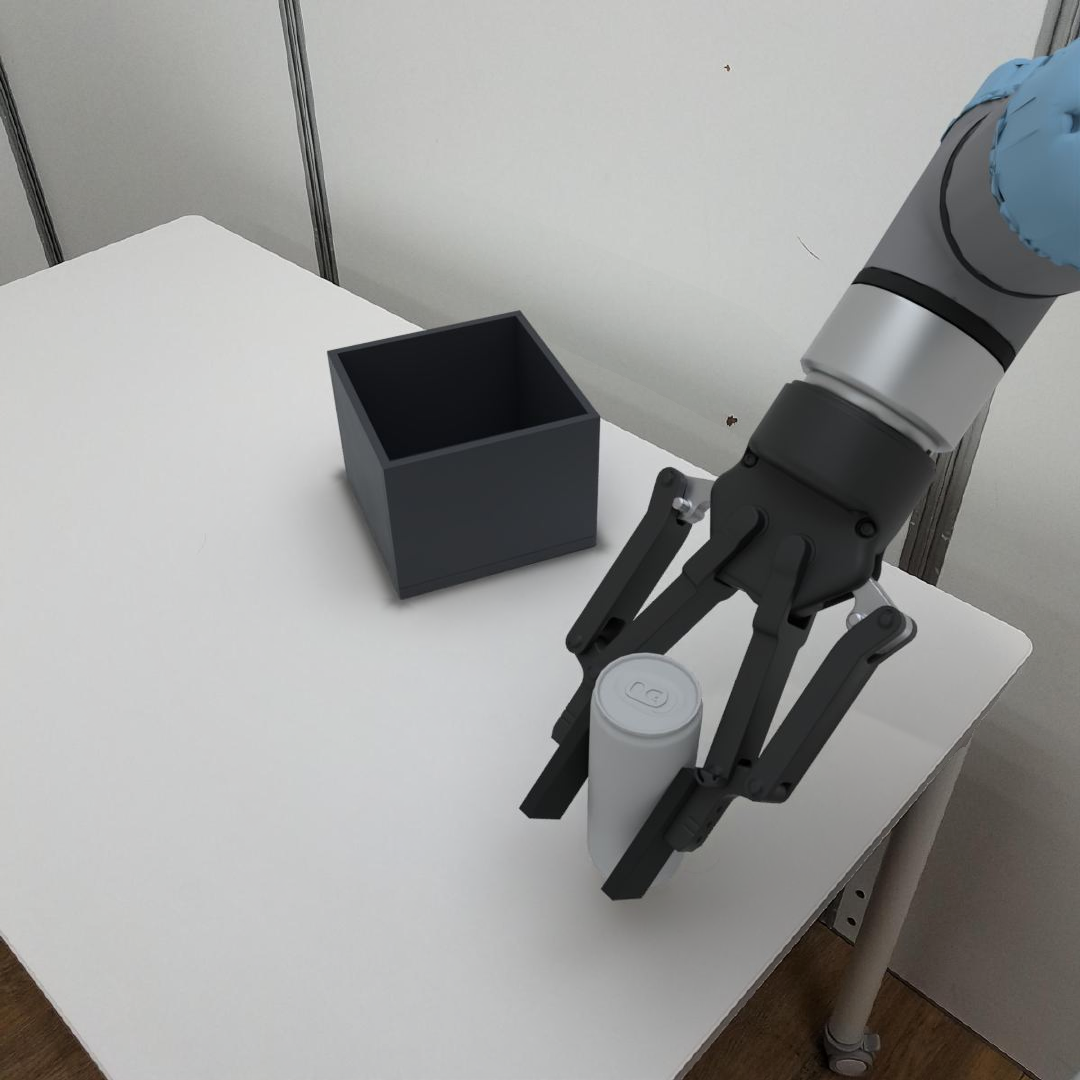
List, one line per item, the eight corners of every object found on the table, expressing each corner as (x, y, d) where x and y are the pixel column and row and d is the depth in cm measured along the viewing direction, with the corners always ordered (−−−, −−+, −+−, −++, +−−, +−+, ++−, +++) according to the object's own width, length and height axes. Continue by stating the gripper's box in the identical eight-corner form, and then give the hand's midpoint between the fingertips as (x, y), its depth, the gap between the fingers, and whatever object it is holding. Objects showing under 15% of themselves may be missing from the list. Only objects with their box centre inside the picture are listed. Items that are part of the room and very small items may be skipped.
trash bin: (596, 545, 78) (600, 416, 70) (400, 600, 74) (383, 469, 66) (523, 433, 88) (520, 309, 80) (346, 476, 84) (326, 350, 76)
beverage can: (655, 913, 53) (673, 754, 45) (567, 866, 55) (570, 705, 47) (699, 838, 56) (724, 677, 48) (615, 796, 58) (625, 635, 50)
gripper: (1073, 539, 46) (760, 986, 49) (744, 364, 56) (502, 741, 59) (1040, 492, 40) (686, 1005, 43) (678, 305, 50) (412, 729, 53)
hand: (579, 851), depth 51 cm, fingers closed on beverage can, 5 cm apart
